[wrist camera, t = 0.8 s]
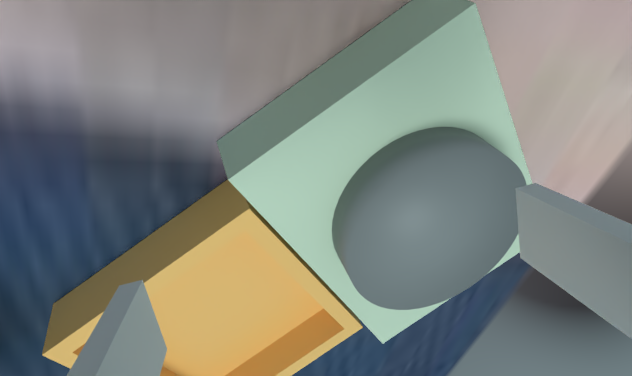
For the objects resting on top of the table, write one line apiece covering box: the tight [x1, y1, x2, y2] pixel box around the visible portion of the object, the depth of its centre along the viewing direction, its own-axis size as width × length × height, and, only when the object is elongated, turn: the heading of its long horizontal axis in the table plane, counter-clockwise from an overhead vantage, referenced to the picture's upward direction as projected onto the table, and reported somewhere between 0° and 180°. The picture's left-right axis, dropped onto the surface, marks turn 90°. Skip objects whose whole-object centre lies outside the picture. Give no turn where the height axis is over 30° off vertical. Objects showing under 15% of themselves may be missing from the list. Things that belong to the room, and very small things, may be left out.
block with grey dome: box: [217, 0, 532, 343], centre depth 33 cm, size 22×17×8 cm
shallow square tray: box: [42, 179, 363, 376], centre depth 35 cm, size 16×16×4 cm
